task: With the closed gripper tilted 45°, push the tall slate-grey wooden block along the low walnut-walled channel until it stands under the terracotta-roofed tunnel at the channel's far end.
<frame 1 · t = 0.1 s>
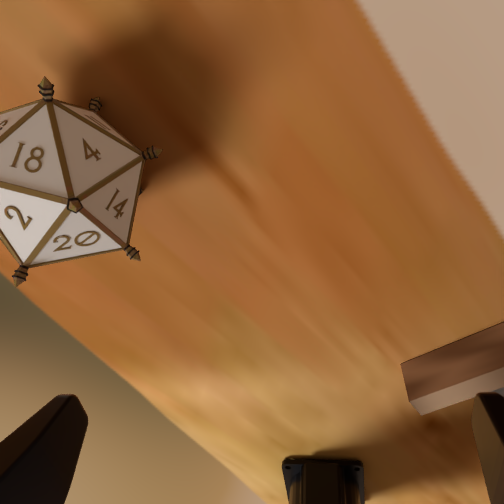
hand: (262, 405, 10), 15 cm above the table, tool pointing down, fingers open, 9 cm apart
game die: (99, 152, 23), on the table
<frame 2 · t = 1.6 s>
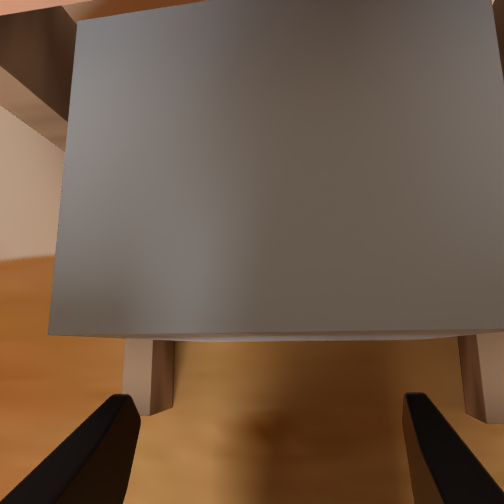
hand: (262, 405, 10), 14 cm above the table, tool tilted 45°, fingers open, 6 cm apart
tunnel: (302, 174, 25), on the table
tall block: (305, 258, 24), on the table
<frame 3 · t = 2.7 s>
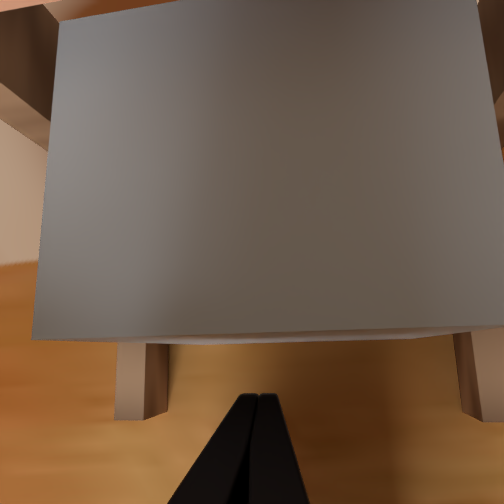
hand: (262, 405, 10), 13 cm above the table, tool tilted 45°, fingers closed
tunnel: (294, 174, 25), on the table
tall block: (298, 259, 24), on the table
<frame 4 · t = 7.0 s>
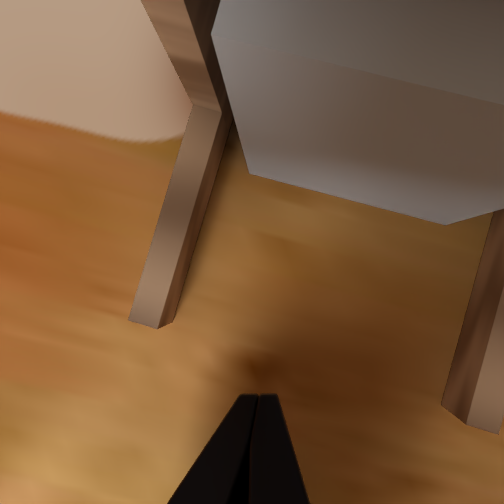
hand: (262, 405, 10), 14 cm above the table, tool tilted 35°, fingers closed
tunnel: (369, 133, 24), on the table
tall block: (367, 120, 24), on the table
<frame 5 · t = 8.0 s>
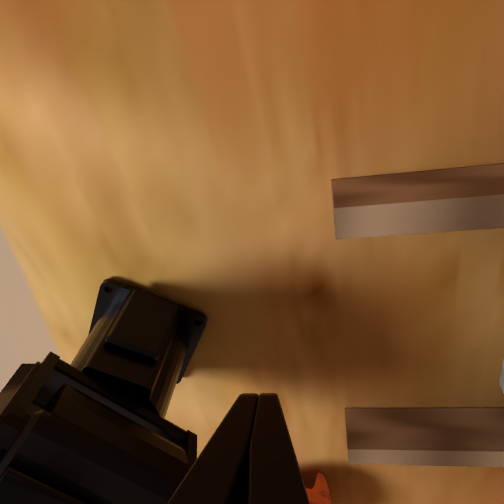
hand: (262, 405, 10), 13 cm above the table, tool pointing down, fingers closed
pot: (293, 482, 35), on the table
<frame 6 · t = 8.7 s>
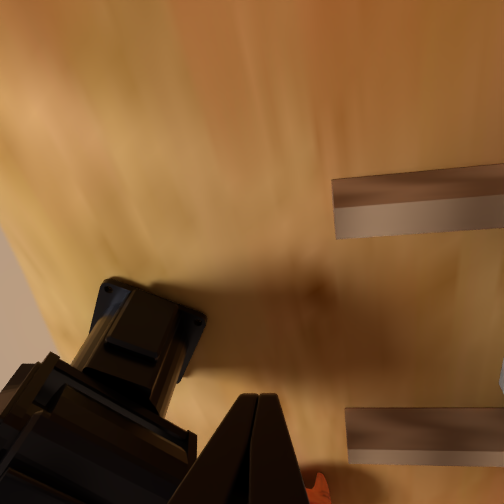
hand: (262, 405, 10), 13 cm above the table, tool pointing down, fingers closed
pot: (293, 482, 35), on the table
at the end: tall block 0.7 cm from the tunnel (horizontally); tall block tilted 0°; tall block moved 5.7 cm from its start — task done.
